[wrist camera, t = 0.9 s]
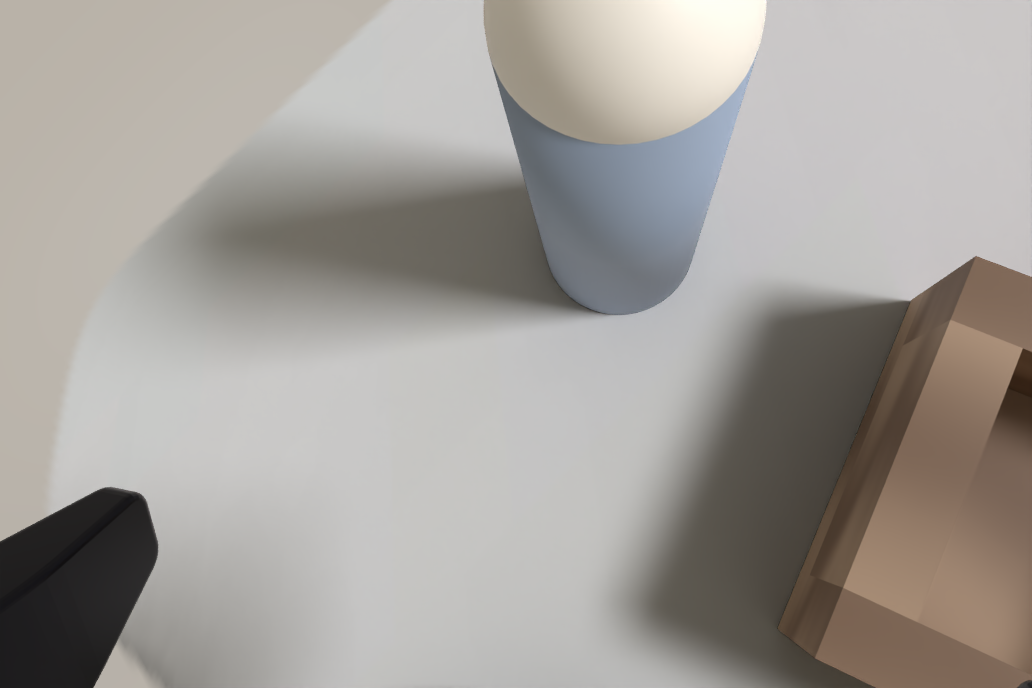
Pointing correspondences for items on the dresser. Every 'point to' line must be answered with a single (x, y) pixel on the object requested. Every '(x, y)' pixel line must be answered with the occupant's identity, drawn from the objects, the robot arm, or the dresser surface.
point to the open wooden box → (934, 503)
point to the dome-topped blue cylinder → (621, 130)
